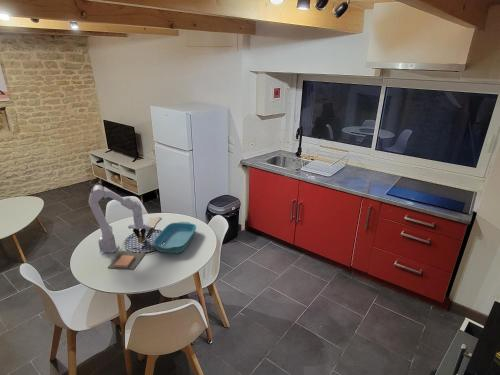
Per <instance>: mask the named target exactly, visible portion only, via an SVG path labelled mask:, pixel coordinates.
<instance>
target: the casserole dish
mask: <svg viewBox="0 0 500 375" xmlns="http://www.w3.org/2000/svg"><path fill="white" fill-rule="evenodd" d="M196 230H197V225H196V224H194V223H191V222H189V221H177V222H171V223H169V224H168V225H166V226H165V227H164V228H163V229H162V230H161V231H160V232H159V234H158V235H157V236H156V237H155V239H154V240H153V245H154V246H155V249H156V250H157V251H158V252H160V253H167V254H180V253H181V252H184V251H185V249H186V248H187V246H188V245H189V244H190V242H191V241H192V240H193V238H194V237H195V234H196ZM163 243H165V244H164V245H163ZM161 244H162V245H163V246H161Z"/></svg>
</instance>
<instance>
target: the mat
mask: <svg viewBox="0 0 500 375" xmlns="http://www.w3.org/2000/svg"><path fill="white" fill-rule="evenodd" d="M129 251H130V250H129ZM129 251H128V250H121V251H120V252H119V254H118V255H117V256H116V257H115V258H114V259H113V261H111V263H110V264H109V265H108V266H107V269H114V270H115V269H116V270H131V271H134V270H135V269H136V267H137V266H138V264H139V263H140V262H141V260H142V259H143V258H144V257H145V255H146V253H132V252H129ZM122 255H127V256H135V259H134V260H133V261H132V263H131V264H130V265H129V267H128V268H124V267H115V265H114V264H115V263H116V262H117V261H118V260H119V259H120V257H121V256H122Z"/></svg>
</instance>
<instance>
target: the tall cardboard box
mask: <svg viewBox="0 0 500 375" xmlns="http://www.w3.org/2000/svg"><path fill="white" fill-rule="evenodd" d="M139 234H140V236H139V237H138V238H137V243H143V241H144V240H145V239H146V240H147V238H145V236H146V235H145V236H144V239H142V235H141V233H139ZM146 240H145V241H146ZM143 244H144V243H143Z"/></svg>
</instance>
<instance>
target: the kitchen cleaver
mask: <svg viewBox="0 0 500 375" xmlns="http://www.w3.org/2000/svg"><path fill="white" fill-rule="evenodd" d="M161 219H162V217H161V216H159V217H151V218H150V220H149V222H148V223H147V225H148V226H150V227H151V228H150V230H148V231H149V232H147V233H146V235H147V236H146V235H145V236H146V237H148V236H149V235H150V234H151V235H152V233H153V231H152V230H154V229H155V227H156V224H157V223H158V222H159V221H160V220H161ZM151 232H152V233H151ZM151 235H150V236H151Z"/></svg>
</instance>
